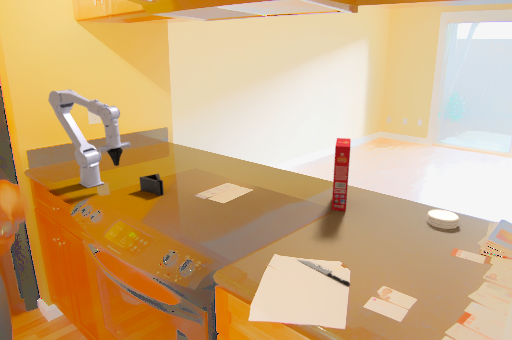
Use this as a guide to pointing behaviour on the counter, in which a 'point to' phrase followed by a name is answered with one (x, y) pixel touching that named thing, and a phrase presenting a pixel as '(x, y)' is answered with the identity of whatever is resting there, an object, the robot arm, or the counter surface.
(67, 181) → the counter surface
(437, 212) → the coaster
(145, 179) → the door stopper
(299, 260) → the chef's knife
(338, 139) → the food packaging
